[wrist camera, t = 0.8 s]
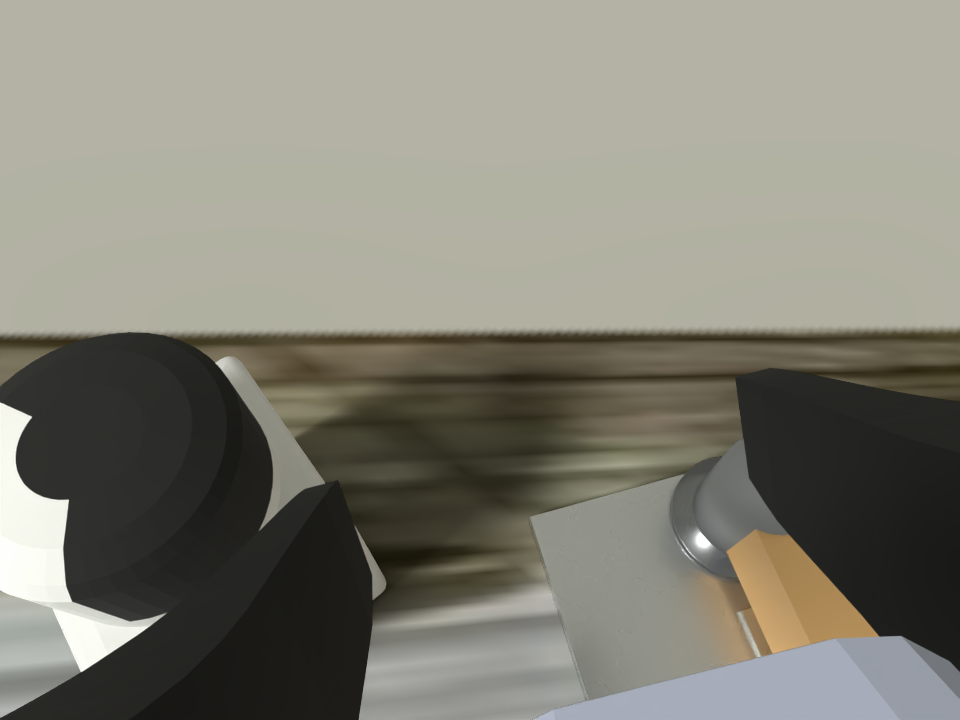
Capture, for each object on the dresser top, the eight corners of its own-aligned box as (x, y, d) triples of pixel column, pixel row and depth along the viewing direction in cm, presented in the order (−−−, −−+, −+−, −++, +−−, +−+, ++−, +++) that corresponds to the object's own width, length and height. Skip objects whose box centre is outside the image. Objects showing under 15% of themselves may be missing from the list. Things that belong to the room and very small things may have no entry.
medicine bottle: (288, 439, 27) (166, 244, 16) (391, 588, 24) (325, 469, 14) (115, 552, 25) (-154, 411, 14) (206, 730, 22) (-43, 720, 11)
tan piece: (1038, 1008, 18) (1143, 1058, 15) (929, 1054, 17) (1016, 1114, 14) (759, 459, 25) (794, 423, 22) (678, 481, 25) (703, 448, 22)
